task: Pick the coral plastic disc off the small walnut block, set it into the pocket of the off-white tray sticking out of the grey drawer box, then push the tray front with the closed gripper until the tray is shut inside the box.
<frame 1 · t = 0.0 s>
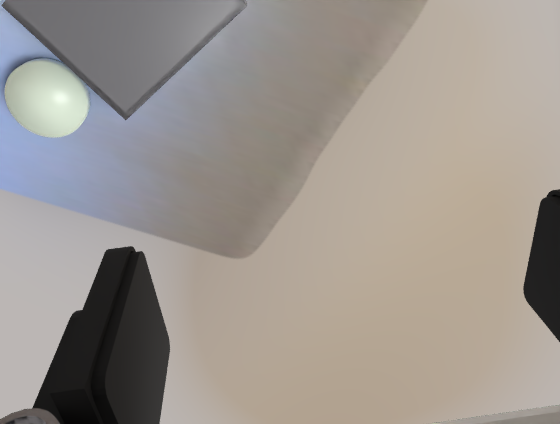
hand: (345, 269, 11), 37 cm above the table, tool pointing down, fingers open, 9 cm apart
disc sage: (52, 95, 45), on the table
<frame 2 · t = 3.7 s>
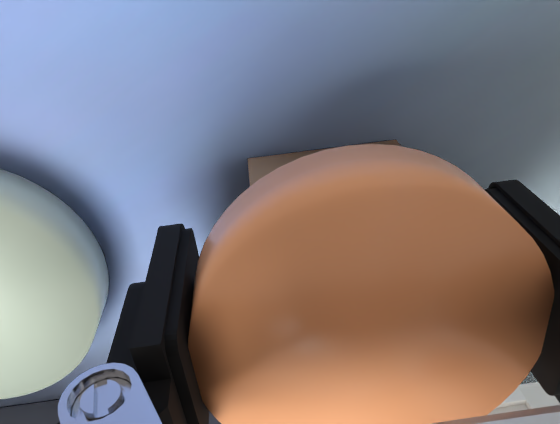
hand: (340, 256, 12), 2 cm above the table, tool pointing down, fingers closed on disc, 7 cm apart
disc: (352, 290, 11), point 4 cm above the table, touching block, gripper
block: (325, 213, 14), on the table
when the fingers open (3 cm above the table, at t = 7.8 s): disc drops 2 cm, resting on tray.
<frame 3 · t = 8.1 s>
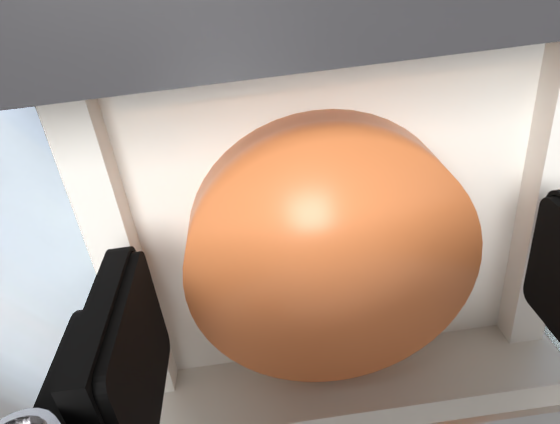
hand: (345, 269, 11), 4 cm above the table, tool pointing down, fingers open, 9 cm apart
disc: (322, 236, 13), point 2 cm above the table, touching tray
tray: (338, 232, 12), point 3 cm above the table, slide at 10.0 cm, touching disc
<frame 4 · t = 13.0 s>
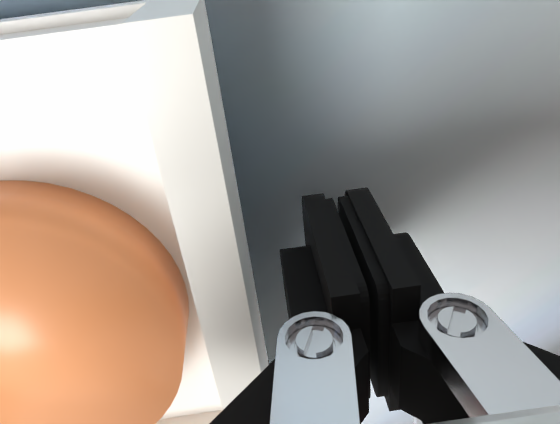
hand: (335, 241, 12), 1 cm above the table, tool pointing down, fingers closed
disc: (45, 307, 12), point 2 cm above the table, touching tray
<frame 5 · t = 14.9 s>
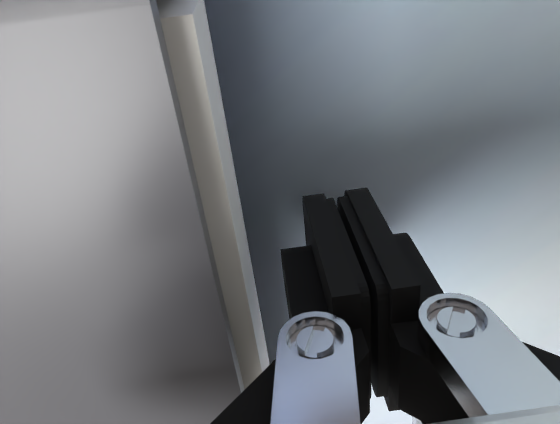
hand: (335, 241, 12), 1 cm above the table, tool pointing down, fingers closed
grey drawer box: (22, 258, 13), on the table
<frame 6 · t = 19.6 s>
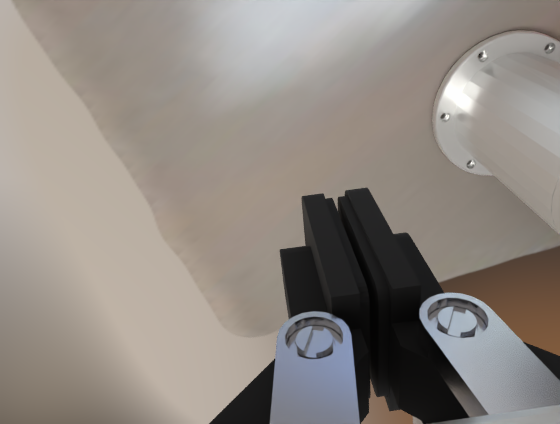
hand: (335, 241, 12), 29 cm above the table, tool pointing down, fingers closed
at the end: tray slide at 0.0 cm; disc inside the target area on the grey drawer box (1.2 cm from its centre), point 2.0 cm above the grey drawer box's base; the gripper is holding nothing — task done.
